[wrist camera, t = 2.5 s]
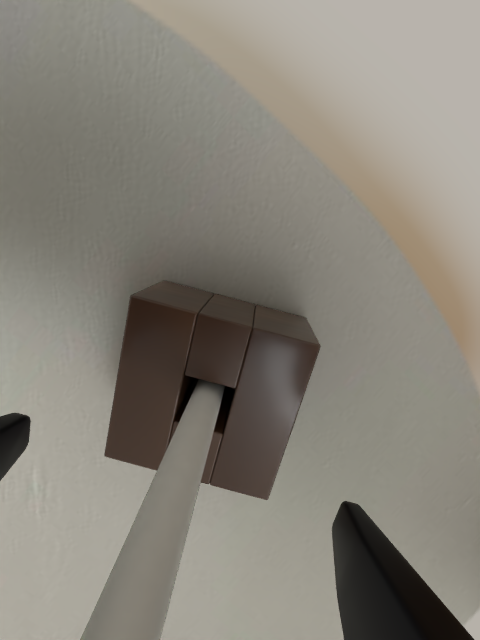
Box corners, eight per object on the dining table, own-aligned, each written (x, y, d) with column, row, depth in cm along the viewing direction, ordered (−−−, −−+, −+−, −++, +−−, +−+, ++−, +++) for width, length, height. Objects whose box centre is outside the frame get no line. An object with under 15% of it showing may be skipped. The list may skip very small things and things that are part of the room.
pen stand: (306, 317, 15) (321, 345, 11) (267, 440, 17) (268, 501, 13) (163, 279, 15) (129, 294, 11) (139, 406, 17) (103, 457, 13)
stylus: (232, 357, 16) (116, 811, 3) (227, 378, 16) (101, 868, 4) (209, 350, 16) (4, 783, 3) (204, 372, 16) (0, 839, 4)
